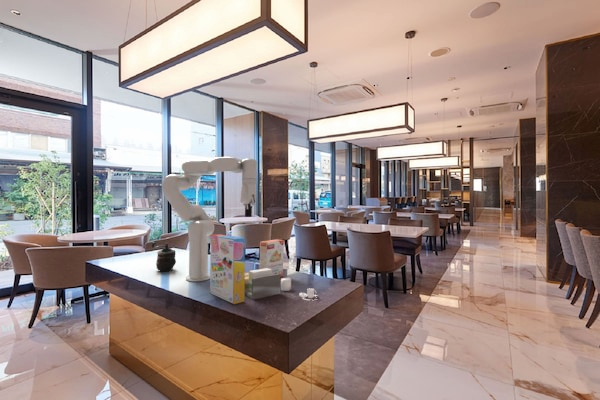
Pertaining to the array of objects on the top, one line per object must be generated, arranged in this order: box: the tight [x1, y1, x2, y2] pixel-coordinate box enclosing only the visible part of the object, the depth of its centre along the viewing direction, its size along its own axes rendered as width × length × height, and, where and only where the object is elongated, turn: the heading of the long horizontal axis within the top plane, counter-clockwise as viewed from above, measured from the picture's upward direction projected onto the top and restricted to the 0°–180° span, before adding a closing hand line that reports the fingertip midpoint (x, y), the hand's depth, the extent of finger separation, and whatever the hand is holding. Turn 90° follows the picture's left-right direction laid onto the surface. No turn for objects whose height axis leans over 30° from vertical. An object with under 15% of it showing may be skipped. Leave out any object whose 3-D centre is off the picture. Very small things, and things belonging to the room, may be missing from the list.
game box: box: [209, 233, 246, 305], centre depth 131 cm, size 21×6×27 cm, turn 44°
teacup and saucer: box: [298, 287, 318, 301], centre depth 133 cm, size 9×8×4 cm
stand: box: [245, 272, 281, 300], centre depth 141 cm, size 20×14×9 cm
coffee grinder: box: [151, 241, 177, 272], centre depth 178 cm, size 13×15×18 cm
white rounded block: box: [280, 277, 292, 292], centre depth 144 cm, size 5×5×5 cm
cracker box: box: [259, 238, 285, 278], centre depth 164 cm, size 14×6×21 cm, turn 144°
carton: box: [248, 268, 272, 292], centre depth 138 cm, size 9×10×4 cm
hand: (248, 216), depth 158 cm, fingers closed
